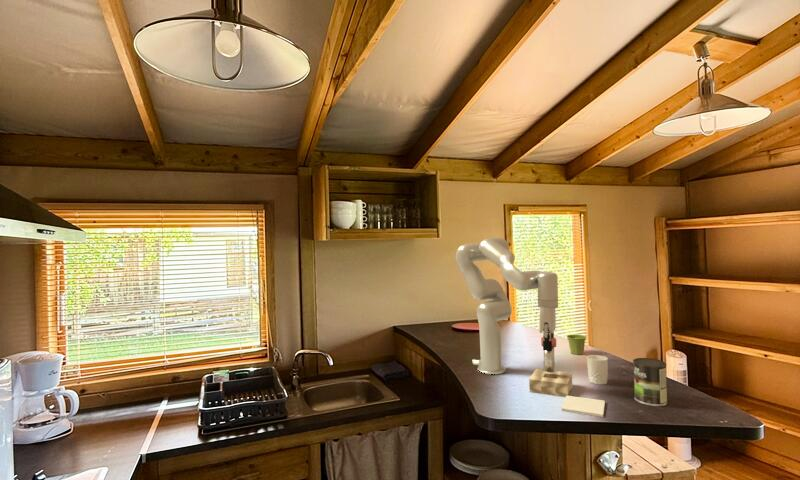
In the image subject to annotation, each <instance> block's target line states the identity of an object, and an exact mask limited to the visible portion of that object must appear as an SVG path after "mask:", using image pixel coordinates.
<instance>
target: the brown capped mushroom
mask: <svg viewBox="0 0 800 480" xmlns="http://www.w3.org/2000/svg"><path fill="white" fill-rule="evenodd" d="M551 341H552V351H544V350H543V370H544V371H546V372H555V371H556V368H555V364H556V363H555V360H556V359H555V348H556V347H557V338H556V337H554V338H553V337H551ZM540 342H541V346H542V347H543V336H542V337H541V339H540Z"/></svg>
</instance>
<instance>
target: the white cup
mask: <svg viewBox="0 0 800 480" xmlns="http://www.w3.org/2000/svg"><path fill="white" fill-rule="evenodd" d="M608 361H609V357H607V356H604V355H599V354H589V355H587V356H586V366H587V374H588V381H589V383H591V384H594V385H600V386H601V385H606V384H608V372H609V371H608V370H609V369H608V368H609V364H608V363H609V362H608Z"/></svg>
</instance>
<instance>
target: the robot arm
mask: <svg viewBox="0 0 800 480" xmlns="http://www.w3.org/2000/svg"><path fill="white" fill-rule="evenodd" d="M515 258H516V256H515V254H514V253H513V252H512V251H511V250H510V245H509V243H508V241H507V240H506V239H505V238H502V237H489V238H484V239H483V240H482V241H481V242H477V243H476V242H475V243H473V242H472V243H465V244H461V245H460V246H458V248H457V249H456V251H455V262H456V263H455V264H456V266H457V268H458V269H459V271H460V273H461V274H462V276H463V279H464V281H465V284H466V286H467V288H468V290H469V292H470V295H471V296H472V298H473V299H474V300H475V301H484V302H481V303H480V304H479V305H478V306H477V307H476V318H477V321H478V328H479V329H478V330H479V349H480V350H479V351H480V359H476V358H475V359H474V358H472V360H471V361H472V362H471V363H472V365H474V366H477V371H478V370H479V371H480V372H479V371H478V372H479V373H481V372H482V373H481V374H484V373H485V374H484V375H491V374H493V375H494V374H495V375H502V374H504V373H506V370H507V368H506V367H505V366H504V365H503V359H502V358H503V357H502V356H503V354H502V353H503V352H502V334H501V328H500V326H499V324H498V322H499V321H505V320H507V319H509V318H510V317H511V315H512V306H511V303H510V301H509V299H508V297H507V294H506V293H505V291H504V288H503V287H502V284H501V283H500V282H499V281H498V280H496V279H494V278H487V279H486V278H485V277H484V275H483V273H482V270H480V268H479V266H477V265H476V264H475V263H474V262H478V261H479V262H480V261H487V260H489V261H491V263H493V264H494V265H496V266H497V267H498V268H499V269H500V273H501V275H502V277H503V279H504V280H505V281H506V282H508V284H509V285H511V286H512V287H513V288H515V289H517V290H518V291H529V290H535V289H536V290H537V307H538V308H540V309H539V328H538V329H539V331H538V332H539V333H540V334H542V333H543V334H542V337H543V346H542V348H543V352H544V351H552V341H551V337H553V338H555V331H556V327H557V326H556V323H557V322H556V321H557V320H556V317H557V316H556V314H557V313H556V309H558V308H559V287H558V285H559V283H558V274H557V273H556V272H550V271H541V270H528V271H527V270H526V271H521V270H520V269H518V267H516V266H514V262H515ZM486 300H487V301H486Z"/></svg>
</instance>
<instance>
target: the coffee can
mask: <svg viewBox="0 0 800 480" xmlns="http://www.w3.org/2000/svg"><path fill="white" fill-rule="evenodd" d="M632 363H633V381H634V383H633V385H634V389H633V390H634V391H633V393H634V401H635V402H637V403H639V404H643V405H645V406H651V407H652V406H653V407H664V406H666V405H667V404H668V396H667V395H668V393H667V387H668V386H667V362H665V361H663V360H660V359H655V358H651V357H650V358H649V357H638V358H634V359H632Z"/></svg>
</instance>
